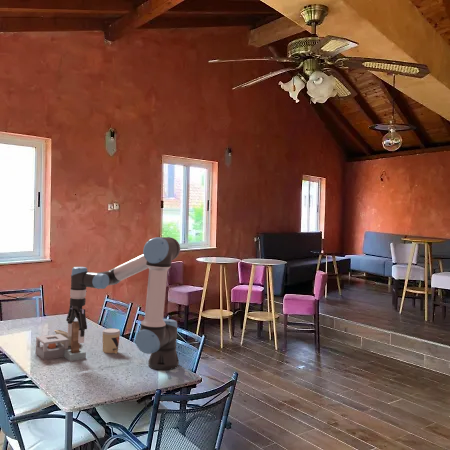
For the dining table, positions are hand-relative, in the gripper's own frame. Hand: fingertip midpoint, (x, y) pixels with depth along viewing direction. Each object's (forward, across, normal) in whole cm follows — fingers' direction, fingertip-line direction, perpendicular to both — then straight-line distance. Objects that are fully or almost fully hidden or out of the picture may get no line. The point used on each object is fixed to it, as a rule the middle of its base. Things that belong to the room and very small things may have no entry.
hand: (75, 339), depth 218 cm
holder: (+10, 0, 0) cm, 10 cm away
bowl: (+10, +23, -5) cm, 26 cm away
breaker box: (+10, +10, +8) cm, 16 cm away
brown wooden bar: (+9, 0, 0) cm, 9 cm away
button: (+8, +10, +8) cm, 15 cm away
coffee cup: (+10, +1, -20) cm, 23 cm away
